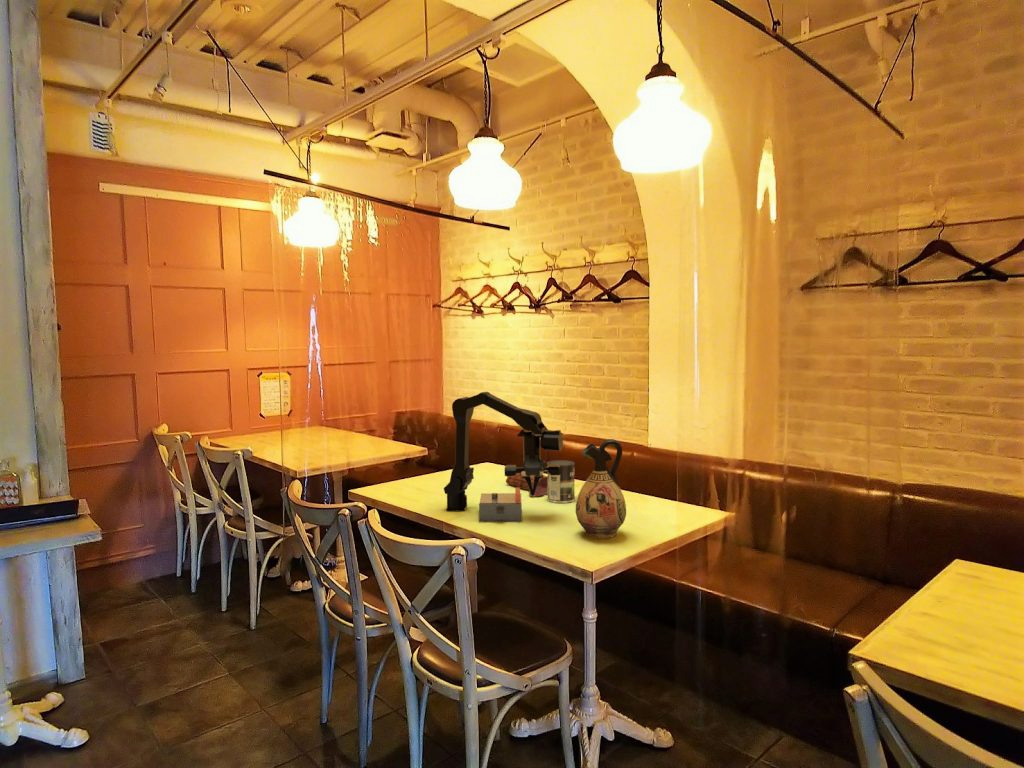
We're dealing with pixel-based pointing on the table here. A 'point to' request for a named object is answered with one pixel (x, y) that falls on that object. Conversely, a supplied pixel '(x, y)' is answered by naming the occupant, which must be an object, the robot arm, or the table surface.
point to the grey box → (500, 512)
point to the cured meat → (522, 483)
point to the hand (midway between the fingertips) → (532, 495)
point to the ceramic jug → (601, 494)
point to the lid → (501, 498)
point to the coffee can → (561, 482)
